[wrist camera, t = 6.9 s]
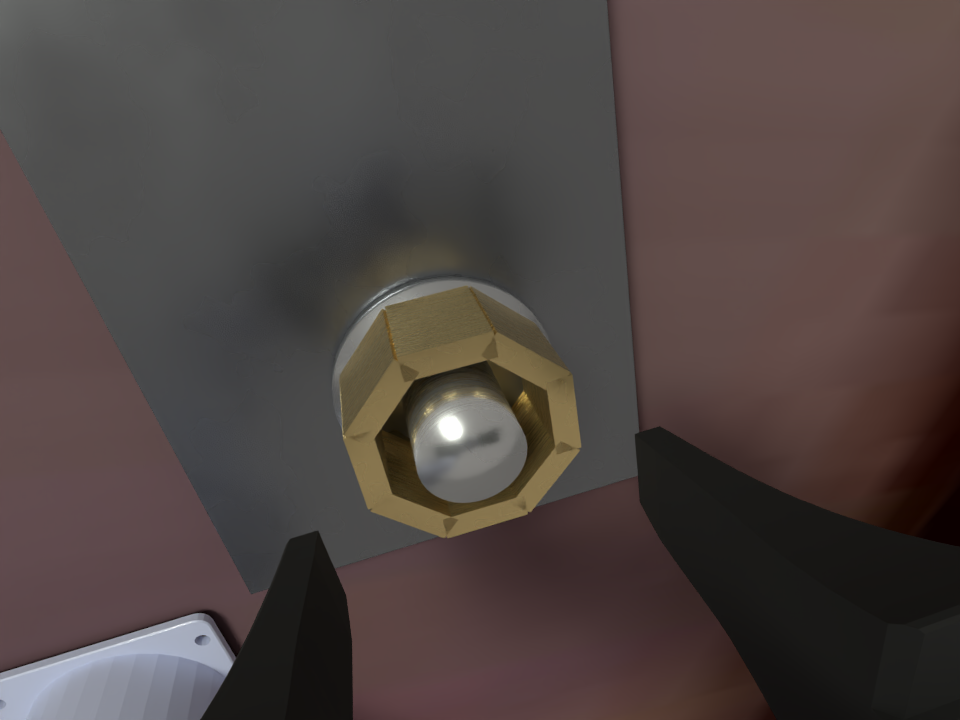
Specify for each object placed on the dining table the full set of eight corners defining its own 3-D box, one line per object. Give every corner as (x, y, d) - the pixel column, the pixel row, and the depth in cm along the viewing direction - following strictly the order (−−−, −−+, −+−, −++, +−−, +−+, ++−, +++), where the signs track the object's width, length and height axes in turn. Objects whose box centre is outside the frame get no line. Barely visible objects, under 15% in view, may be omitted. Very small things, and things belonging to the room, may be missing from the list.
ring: (553, 436, 21) (587, 496, 18) (375, 487, 20) (385, 557, 17) (528, 269, 18) (565, 312, 15) (320, 323, 17) (320, 377, 14)
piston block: (628, 454, 24) (700, 555, 19) (254, 567, 22) (238, 704, 18) (565, -259, 14) (684, -392, 9) (-114, -139, 12) (-353, -227, 8)
